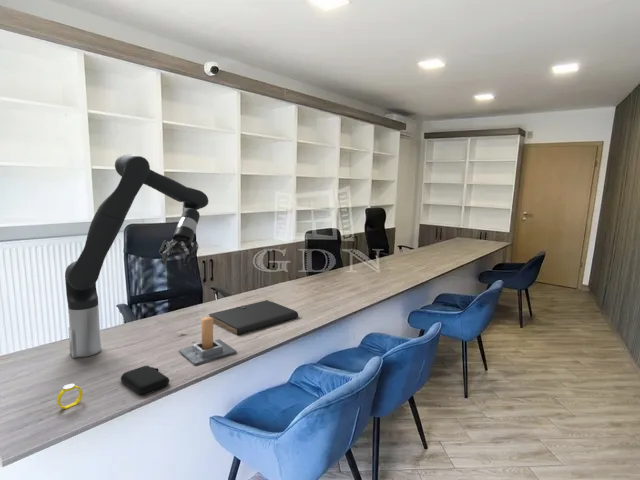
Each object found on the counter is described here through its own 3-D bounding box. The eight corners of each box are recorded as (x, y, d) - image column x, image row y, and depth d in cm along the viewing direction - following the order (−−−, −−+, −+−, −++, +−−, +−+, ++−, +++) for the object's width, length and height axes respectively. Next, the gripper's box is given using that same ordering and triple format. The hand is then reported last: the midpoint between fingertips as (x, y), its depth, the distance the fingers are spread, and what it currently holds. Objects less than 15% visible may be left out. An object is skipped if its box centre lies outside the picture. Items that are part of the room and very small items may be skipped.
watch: (61, 413, 102) (58, 393, 101) (56, 410, 103) (53, 390, 102) (85, 401, 107) (82, 382, 106) (80, 398, 108) (77, 379, 107)
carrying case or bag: (175, 385, 118) (151, 370, 127) (175, 375, 117) (151, 361, 127) (140, 399, 110) (118, 382, 119) (140, 389, 109) (118, 372, 118)
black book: (266, 299, 196) (298, 311, 179) (266, 306, 197) (298, 319, 180) (208, 313, 173) (238, 328, 156) (208, 321, 173) (238, 338, 157)
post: (204, 353, 137) (204, 321, 136) (200, 349, 140) (199, 318, 139) (215, 350, 140) (214, 319, 138) (210, 347, 143) (210, 316, 141)
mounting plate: (194, 365, 130) (194, 357, 129) (178, 351, 140) (178, 344, 140) (236, 353, 140) (236, 345, 140) (219, 341, 151) (219, 334, 150)
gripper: (165, 224, 154) (151, 257, 144) (199, 225, 153) (188, 259, 143) (171, 236, 160) (159, 268, 150) (205, 237, 159) (194, 270, 149)
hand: (173, 264), depth 146 cm, fingers open, 8 cm apart
